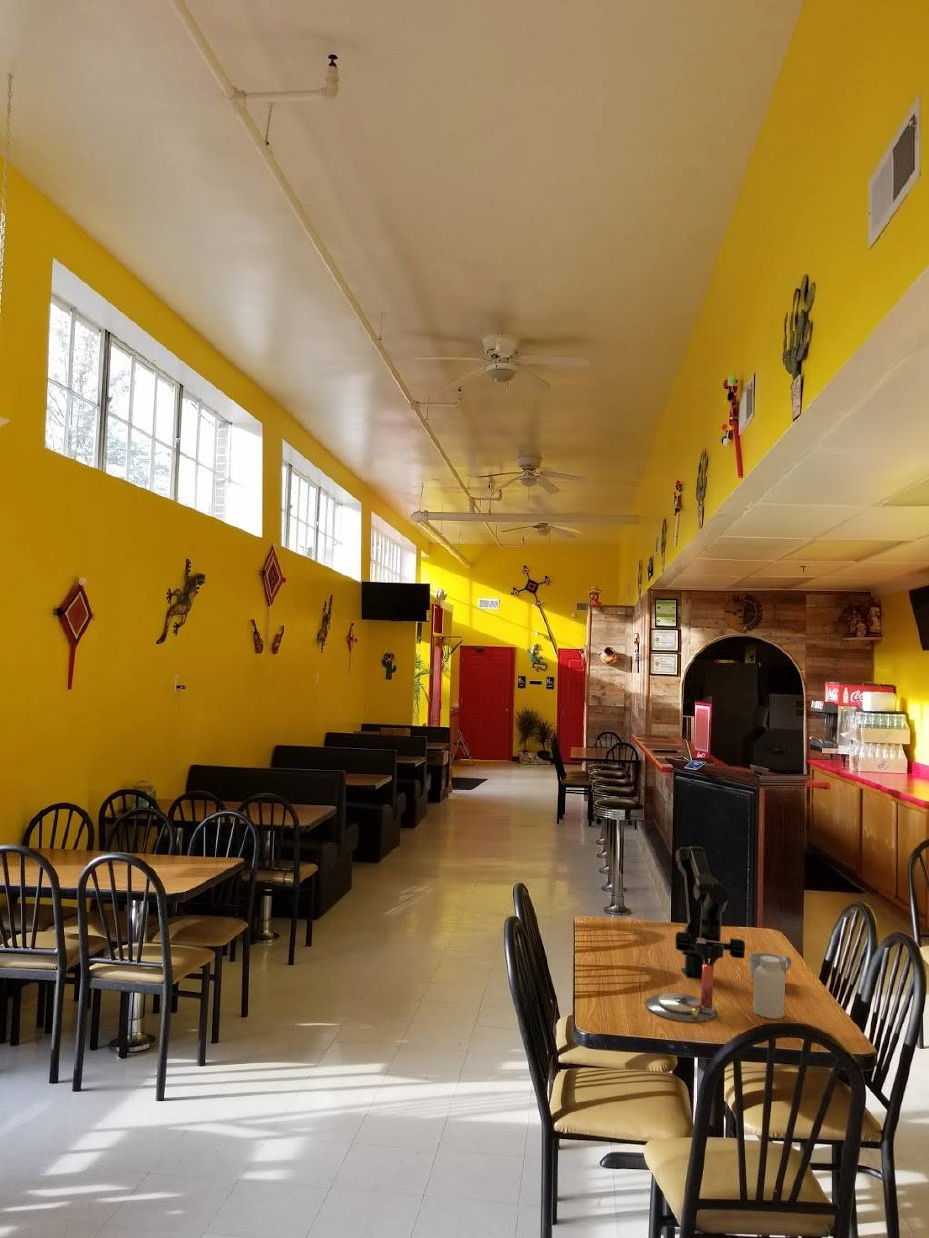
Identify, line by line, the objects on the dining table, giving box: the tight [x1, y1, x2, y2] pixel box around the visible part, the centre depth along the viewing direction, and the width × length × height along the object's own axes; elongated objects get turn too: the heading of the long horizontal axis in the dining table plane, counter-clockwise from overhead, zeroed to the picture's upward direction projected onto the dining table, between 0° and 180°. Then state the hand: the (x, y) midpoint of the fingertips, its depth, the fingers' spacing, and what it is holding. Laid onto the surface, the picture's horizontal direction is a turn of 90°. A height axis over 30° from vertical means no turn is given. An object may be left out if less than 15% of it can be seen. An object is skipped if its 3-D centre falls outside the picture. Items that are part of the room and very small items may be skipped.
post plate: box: [645, 993, 717, 1023], centre depth 249 cm, size 19×19×3 cm
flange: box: [658, 962, 716, 1014], centre depth 248 cm, size 15×12×12 cm
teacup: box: [748, 952, 792, 981], centre depth 274 cm, size 14×11×8 cm
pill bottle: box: [752, 956, 786, 1020], centre depth 248 cm, size 8×8×15 cm
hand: (708, 972), depth 248 cm, fingers closed
